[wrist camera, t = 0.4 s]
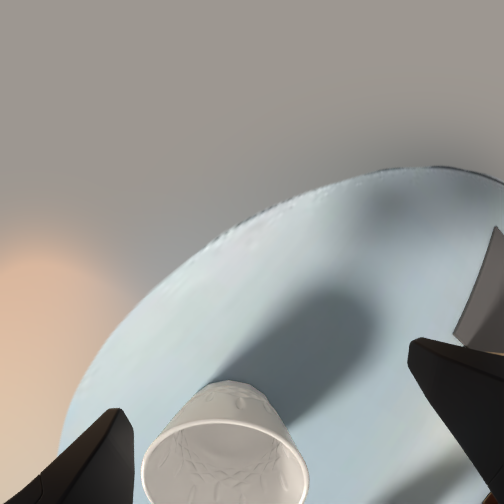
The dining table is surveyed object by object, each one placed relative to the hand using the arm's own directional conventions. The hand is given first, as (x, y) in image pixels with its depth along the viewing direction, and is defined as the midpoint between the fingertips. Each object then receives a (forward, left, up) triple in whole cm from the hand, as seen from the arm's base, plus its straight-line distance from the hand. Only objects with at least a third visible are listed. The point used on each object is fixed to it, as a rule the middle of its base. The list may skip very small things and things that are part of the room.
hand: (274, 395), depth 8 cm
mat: (-22, -17, -14) cm, 31 cm away
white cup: (-2, +6, -14) cm, 15 cm away
